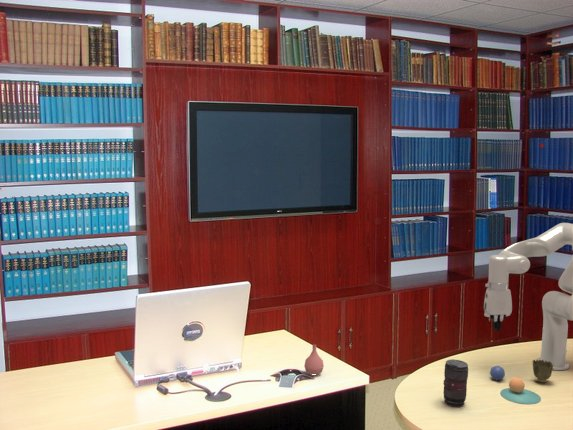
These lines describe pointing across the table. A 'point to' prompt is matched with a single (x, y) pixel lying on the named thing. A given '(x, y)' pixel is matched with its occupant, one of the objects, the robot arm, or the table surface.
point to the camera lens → (455, 382)
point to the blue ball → (497, 372)
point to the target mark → (520, 396)
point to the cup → (542, 370)
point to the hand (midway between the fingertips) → (496, 330)
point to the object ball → (516, 385)
